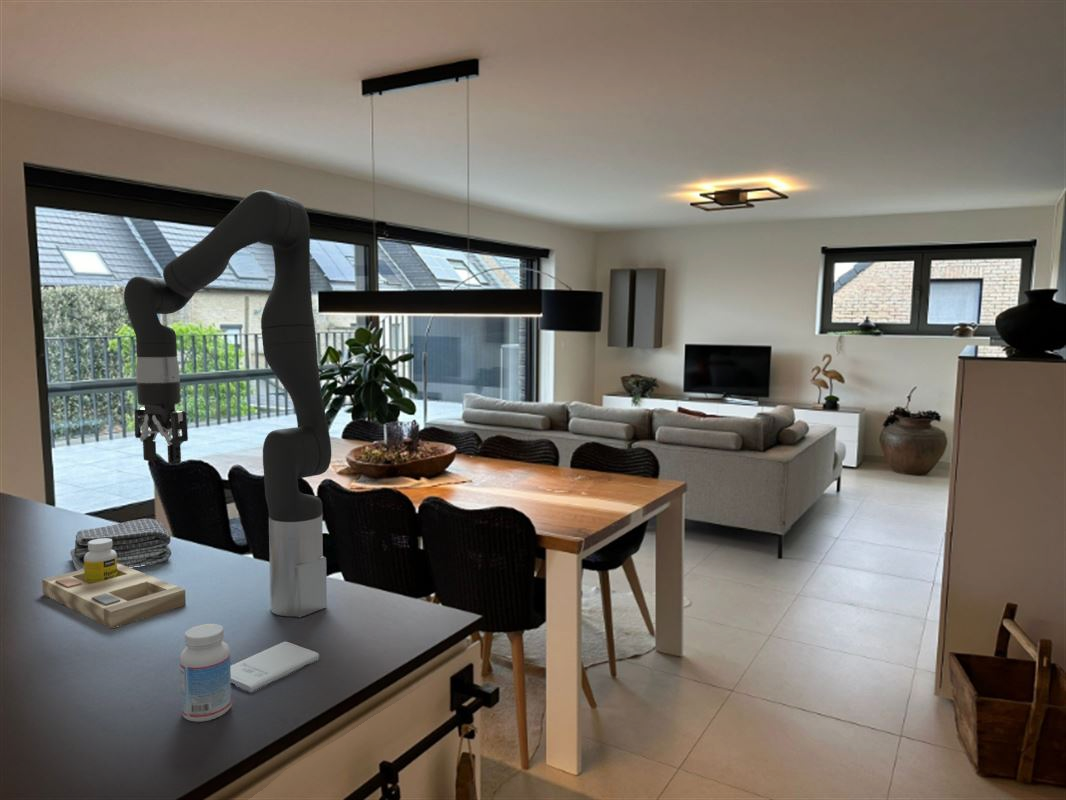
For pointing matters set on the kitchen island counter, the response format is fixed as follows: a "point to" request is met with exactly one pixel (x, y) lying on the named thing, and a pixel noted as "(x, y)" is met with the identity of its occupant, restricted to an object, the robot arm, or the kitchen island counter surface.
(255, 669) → the external hard drive
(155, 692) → the kitchen island counter surface
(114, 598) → the socket holder
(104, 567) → the supplement bottle
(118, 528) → the towel
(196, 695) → the pill bottle
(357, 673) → the kitchen island counter surface
